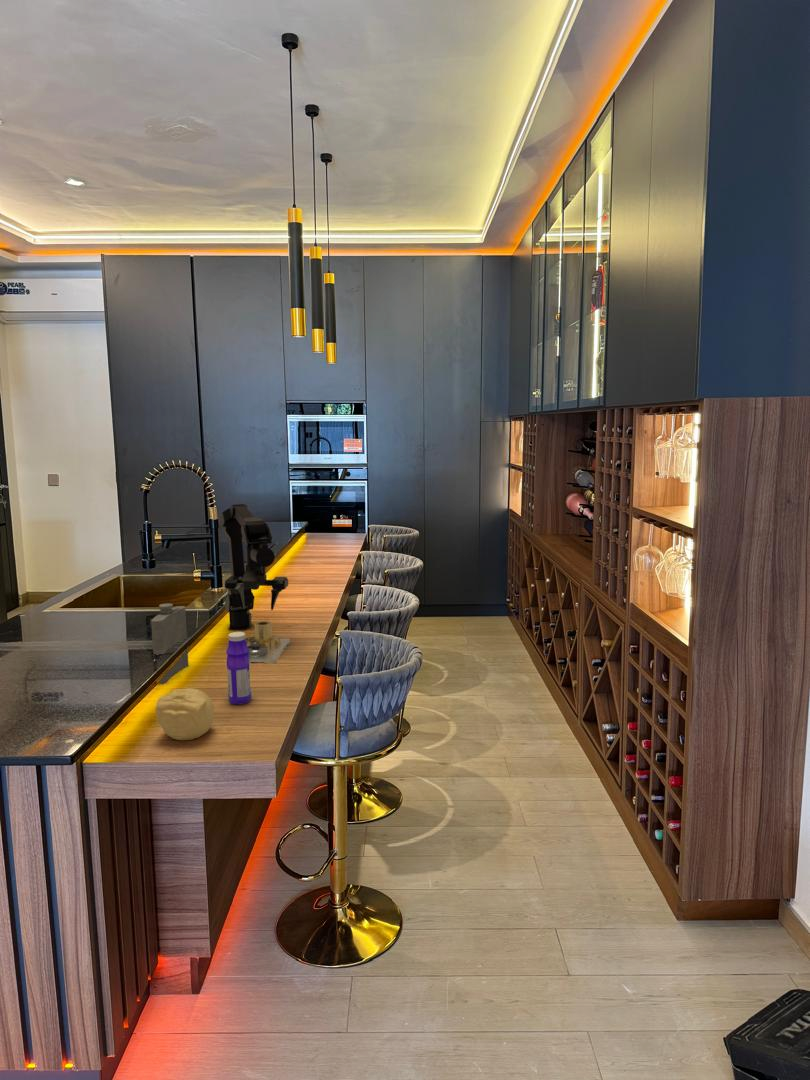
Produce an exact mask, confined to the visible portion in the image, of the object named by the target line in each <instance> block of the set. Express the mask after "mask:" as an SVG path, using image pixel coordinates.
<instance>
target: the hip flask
mask: <svg viewBox="0 0 810 1080" xmlns="http://www.w3.org/2000/svg"><path fill="white" fill-rule="evenodd" d="M173 605H174V604H173V603H161V604H159V605H158V609H159V611H160V613H159V614H157V615H155V616H154V617H153V618H152V619H151V620H150V621H151V636H152V637H151V639H152V640H151V641H152V652H153V653H154V654H156V655H159V654H164V653H166V651H167V650H168V649H169V648H170V647H172V646H173V645H174V644H176V643H177V642H180V641H182V640H184V639H187V640H188V634H187V618H186V614H187V613H186V607H185V606H183V605H180V606H179V605H178V606H173ZM189 666H190V665H189V652H188V647H187V649H186V651H185V652H184V653H183V654H182V655H181V657H180V658H179V660H178V661H177V662H176V663H175V664H174V666H173V667H172V668H171V669H170V670H168V671H167V672H166V674H165V675H164V676H163V678H162V679H161V680H160V681H159V684H158V685H163V684H164V685H165V684H167V683H168V682H169V681H170V680H171V679H172V677H174V676H175V675H176V674H177V673H179V672H181V671H183V670H184V669H186V668H188V667H189Z"/></svg>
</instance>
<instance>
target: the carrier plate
mask: <svg viewBox="0 0 810 1080" xmlns="http://www.w3.org/2000/svg"><path fill="white" fill-rule="evenodd" d="M248 638H249V637H247V638H246V637H245V640H246V644H247V640H248ZM280 639H281V643H279V645H278V646H277V645H276V646H274V647H272V648H271V647H268V648H267V646H264V645H259V641H252V642H251V646H248V645H247V647H248V648H249V652H248V655H249V660H250V662H267V663H266V664H276V662H277V661H278V660H279V658H280V657H281V655H282V654H283V653H282V652H285V650H286V649H287V648H288V646H289V644H290V643H291V638H281V637H280ZM287 645H288V646H287ZM285 648H286V649H285ZM284 649H285V650H284ZM279 656H280V657H279ZM277 659H278V660H277ZM276 660H277V661H276ZM268 662H269V663H268Z"/></svg>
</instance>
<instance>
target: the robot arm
mask: <svg viewBox="0 0 810 1080" xmlns="http://www.w3.org/2000/svg"><path fill="white" fill-rule="evenodd" d="M219 524H220V527H221V529H222V533H223V534H224V535H225V536H226V538H227V539H228V548H229V561H230V563H229V564H230V573H231V574H230V576H228V578H226V579H225V580H224V589H225V590H226V589H227V595H226V598H225V601H224V607H225V611H226V612H228V615H229V617H228V618H229V627H228V628H227V629H228V630H248V629H249V628H250V627H251V626H252V624H253V623H252V613H251V611H250V610H254V607H255V605H254V603H255V595H254V593H253V592H252V590H253V591H254V590H255V591H256V590H258V589H260V587H261V586H262V587H272V589H271V590H270V592H271V593H270V594H271V599H270V611H273V610H274V609H275V605H276V602H277V599H278V596H279V595H280V593H281V592H282V591H283V590H285V589H287V587H289V579H288V578H287V576H275V577H274V578H273V579H267V576H268V575H267V573H266V572H267V570H266V567H267V568H268V567H270V566H271V565H272V564H273V563H274V562H275V558H276V556H275V553H274V551H273V550H272V549H271V548H269V544H272V542H273V541H272V539H273V536H272V532H271V529H270V527H269V525H268V523H267V522H266V520H264V519H262V518H259V517H256V516H254V514H253V513H252V512H251V511H250V510H249V508H248V505H247V504H245V503H233V504H231V505H230V506H229V508H226V509H224V510H223V512H222V513H221V516H220V519H219ZM243 542H244V544H245V556H246V565H245V556H244V546H243V545H244V544H243Z"/></svg>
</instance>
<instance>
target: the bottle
mask: <svg viewBox="0 0 810 1080" xmlns="http://www.w3.org/2000/svg"><path fill="white" fill-rule="evenodd" d="M245 639H246V633H245V632H243V631H234V632H231V633H229V634H228V644H227V649H225V650H226V651H225V653H226V655H227V656H226V668H227V691H228V692H227V696H228V700H229V702H230V703H231V704H233V705H241V704H242V705H244V704H247V703H249V702H250V701H251V698H252V689H251V688H252V687H251V673H250V672H251V671H250V664H251V663H250V660H249V655H248V652H249V648H248V647H247V644H246V640H245ZM243 703H244V704H243Z"/></svg>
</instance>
